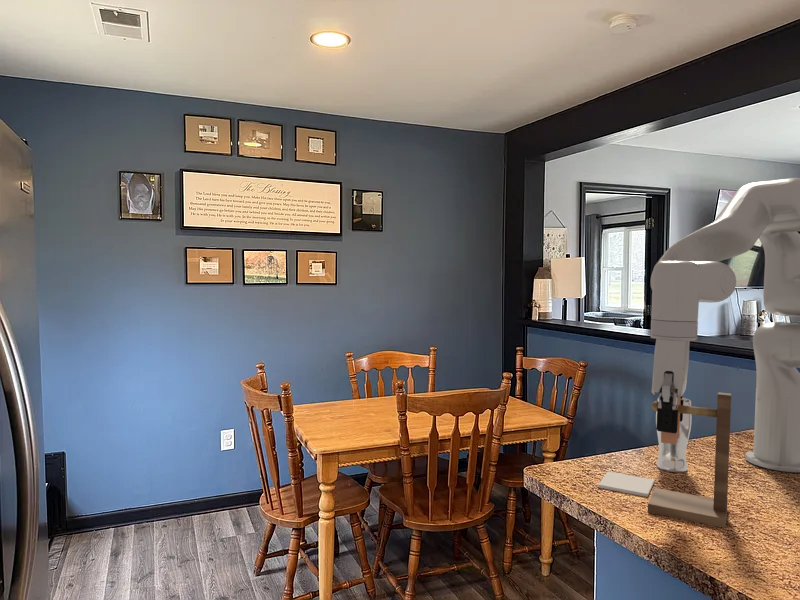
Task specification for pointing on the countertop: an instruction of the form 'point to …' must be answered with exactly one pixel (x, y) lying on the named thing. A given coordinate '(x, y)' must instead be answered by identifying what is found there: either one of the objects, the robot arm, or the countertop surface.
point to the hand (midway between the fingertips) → (669, 425)
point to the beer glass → (675, 446)
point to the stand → (714, 508)
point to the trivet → (627, 484)
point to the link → (672, 437)
